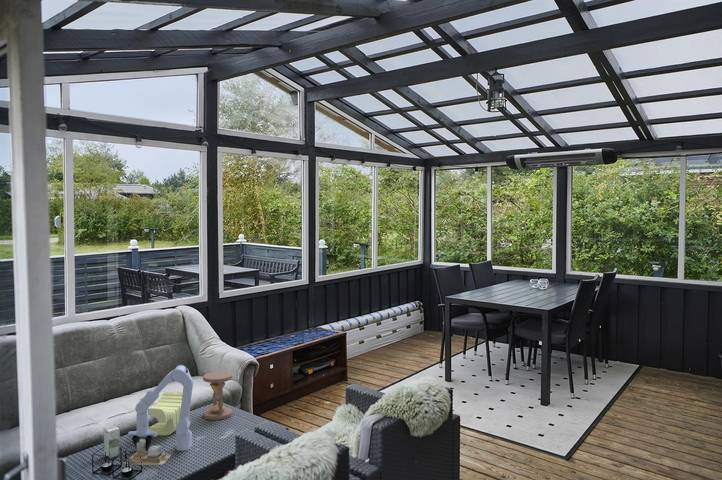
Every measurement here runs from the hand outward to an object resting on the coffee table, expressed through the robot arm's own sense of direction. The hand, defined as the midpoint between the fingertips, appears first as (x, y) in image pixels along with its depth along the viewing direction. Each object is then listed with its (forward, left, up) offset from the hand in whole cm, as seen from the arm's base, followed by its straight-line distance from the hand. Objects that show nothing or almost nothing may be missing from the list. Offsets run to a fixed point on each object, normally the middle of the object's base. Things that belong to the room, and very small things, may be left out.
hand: (142, 449), depth 289 cm
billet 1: (0, 0, -1) cm, 1 cm away
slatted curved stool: (-30, 0, -2) cm, 30 cm away
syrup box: (+5, -14, -2) cm, 15 cm away
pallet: (+10, +7, -1) cm, 12 cm away
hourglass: (-56, +23, -2) cm, 61 cm away
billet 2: (+10, +11, 0) cm, 15 cm away
